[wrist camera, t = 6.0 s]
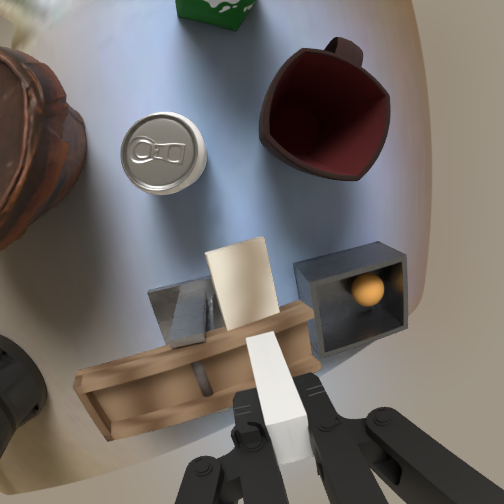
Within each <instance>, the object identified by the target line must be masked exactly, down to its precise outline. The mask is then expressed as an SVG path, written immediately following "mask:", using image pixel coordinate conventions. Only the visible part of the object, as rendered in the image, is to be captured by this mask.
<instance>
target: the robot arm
mask: <svg viewBox="0 0 504 504" xmlns="http://www.w3.org/2000/svg"><path fill="white" fill-rule="evenodd" d="M246 342H247V347H248V351H249V356H250V360H251V365H252V369H253V374H254V378H255V382H256V388H252V389H248V390H243V391H239V392H236V393H235V395H234V398H233V400H232V401H233V409H234V417H235V425H236V426H235V427H234V428H233V429H232V431H231V437H232V440H233V442H234V445H235V447H234V449H233V450H232V451H231V452H230V453H228V454H226V455H225V456H222V457H220V458H218V459H216V458H214V457H211V456H200V457H198V458H195V459H194V460H192V461H191V462H190V463H189V465H188V466H187V468H186V471H185V474H184V477H183V480H182V483H181V486H180V489H179V492H178V495H177V498H176V501H175V504H238V500H239V499H241V498H243V500H244V504H289V501H288V498H287V494H286V490H285V487H284V483H283V479H282V475H281V472H280V470H279V466H280V465H284V464H288V463H291V462H295V461H299V460H302V459H306V458H309V457H313V454H314V456H315V459H316V465H317V472H318V475H320V477H321V479H322V482H323V485H324V487H325V490H326V493H327V496H328V498H329V501H330V503H331V504H388V502H387V500H386V498H385V496H384V494H383V492H382V490H381V488H380V487H379V485H378V483H377V481H376V479H375V477H374V475H373V473H372V471H371V469H372V470H373V471H374V472H375V473H376V474H377V475H378V476H379V477H380V478H381V479H382V480H383V481H384V482H385V483H386V484H387V485H388V486H389V487H390V488H391V489H392V490H393V491H394V492H395V493H396V494H397V495H398V496H399V497H400V498H401V499H403V501H405V502H406V503H407V504H504V490H503V489H502V488H500V487H499V486H497V485H496V484H494V483H493V482H492V481H490V480H489V479H487V478H486V477H485V476H483V475H482V474H481V473H479V472H478V471H476V470H475V469H474V468H472V467H470V466H469V465H468V464H467V463H465V462H464V461H463V460H461V459H460V458H458V457H457V456H456V455H454V454H453V453H452V452H450V451H449V450H448V449H446V448H445V447H444V446H442V445H441V444H439V443H438V442H437V441H436V440H434V439H433V438H432V437H430V436H429V435H428V434H426V433H425V432H424V431H422V430H421V429H420V428H418V427H417V426H416V425H415V424H413V423H412V422H411V421H409V420H408V419H407V418H405V417H404V416H403V415H402V414H400V413H399V412H398V411H396V410H395V409H393V408H389V407H380V408H377V409H374V410H372V411H371V412H370V413H369V414H368V416H367V418H362V419H347V418H344V417H342V416H340V415H339V414H337V412H336V410H335V408H334V406H333V405H332V403H331V401H330V399H329V397H328V395H327V393H326V391H325V389H324V387H323V386H322V383H321V381H320V380H319V377H317V376H316V375H314V374H313V373H311V372H309V373H306V374H302V375H299V376H295V377H291V374H290V372H289V369H288V367H287V364H286V362H285V359H284V357H283V354H282V352H281V349H280V347H279V344H278V341H277V339H276V336H275V334H274V331H271V332H267V333H264V334H260V335H256V336H252V337H247V338H246ZM46 397H47V392H46V386H45V383H44V380H43V378H42V375H41V373H40V372H39V370H38V368H37V367H36V365H35V364H34V362H33V361H32V360H31V358H30V357H29V356H28V355H27V354H26V353H25V352H24V351H23V350H22V349H21V348H20V347H19V346H18V345H17V344H15V343H14V342H13V341H11V340H10V339H8V338H6V337H4V336H2V335H0V458H1V457H2V455H3V453H4V451H5V449H6V447H7V445H8V443H9V441H10V440H11V438H12V436H13V434H14V432H15V431H16V429H17V428H19V427H20V426H22V425H23V424H25V423H26V422H28V421H29V420H31V419H32V418H34V417H35V416H36V415H38V413H39V412H40V411H41V409H42V407H43V406H44V404H45V402H46ZM370 468H371V469H370Z"/></svg>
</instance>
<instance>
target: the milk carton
mask: <svg viewBox="0 0 504 504" xmlns="http://www.w3.org/2000/svg"><path fill="white" fill-rule="evenodd" d="M255 1H256V0H175V2H176V9H177V16H178V17H182V18H186V19H191V20H195V21H199V22H203V23H207V24H211V25H215V26H219V27H222V28H226V29H229V30H233V31H237V29H238V27H239V26H240V24H241V23H242V21H243V19H244V18H245V16H246V15H247V13H248V12H249V10H250V9H251V7H252V6H253V4H254V3H255Z"/></svg>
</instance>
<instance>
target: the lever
mask: <svg viewBox="0 0 504 504" xmlns="http://www.w3.org/2000/svg"><path fill="white" fill-rule="evenodd" d="M205 257H206V261H207V264H208V268H209V272H210V276H211V279H212V283H213V287H214V290H215V294H216V297H217V301H218V305H219V308H220V312H221V315H222V319H223V322H224V327H221V328H218V329H215V330H213V331H209V332H206V333H205V341H204V342H199V343H195V344H190V345H185V346H180V347H175V348H171V347H170V344H169V345H166V346H162V347H159V348H156V349H153V350H149V351H146V352H143V353H139V354H136V355H132V356H129V357H125V358H122V359H118V360H115V361H111V362H108V363H104V364H100V365H97V366H93V367H89V368H85V369H81V370H78V371H77V373H76V377H75V381H74V385H73V389H74V390H75V392H76V394H77V395H78V397H79V399H80V400H81V402H82V404H83V405H84V407H85V409H86V410H87V412H88V413H89V415H90V417H91V418H92V420H93V421H94V423H95V424H96V426H97V427H98V429H99V430H100V432H101V433H102V435H103V436H104V438H105V439H106V440H107V442H108V441H113V440H117V439H122V438H126V437H130V436H135V435H139V434H143V433H147V432H150V431H154V430H158V429H162V428H165V427H169V426H172V425H176V424H179V423H182V422H186V421H189V420H192V419H195V418H199V417H202V416H205V415H208V414H211V413H214V412H217V411H220V410H223V409H225V408H228V407H231V406H233V401H232V400H233V398H234V395H235V393H236V392H239V391H243V390H248V389H252V388H256V382H255V378H254V374H253V369H252V365H251V360H250V356H249V351H248V347H247V342H246V338H247V337H252V336H256V335H260V334H264V333H267V332H271V331H274V334H275V336H276V339H277V341H278V344H279V347H280V349H281V352H282V354H283V357H284V359H285V362H286V364H287V367H288V369H289V372H290V374H291V377H295V376H299V375H302V374H306V373H309V372H311V373H315V372H317V371H319V370H321V369H322V368H321V363H320V362H319V361H318V360H317V359H316V358H315V357H314V356H313V355H312V351H311V344H310V338H309V331H308V325H307V320H310V319H312V318H315V317H314V310H313V309H312V308H310V307H309V306H307V305H306V304H305V303H303V302H302V301H300V300H297V301H294V302H292V303H289V304H286V305H284V306H281V307H279V306H278V301H277V296H276V291H275V286H274V282H273V277H272V272H271V267H270V262H269V257H268V253H267V248H266V243H265V238H263V237H261V236H259V237H256V238H253V239H249V240H246V241H242V242H239V243H236V244H232V245H229V246H225V247H222V248H219V249H215V250H212V251H209V252H205Z"/></svg>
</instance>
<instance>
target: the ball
mask: <svg viewBox="0 0 504 504" xmlns="http://www.w3.org/2000/svg"><path fill="white" fill-rule="evenodd" d="M351 292H352V296H353V298H354V300H355V301H356V302H357V303H358V304H360V305H362V306H373V305H375V304H377V303H378V302H379V301H380V300H381V299H382V297H383V294H384V284H383V282H382V280H381V279H380V278H379V277H378V276H377V275H375V274H373V273H363V274H361V275H359V276H358V277H357V278H356V279H355V280H354V282H353V284H352V288H351Z"/></svg>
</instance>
